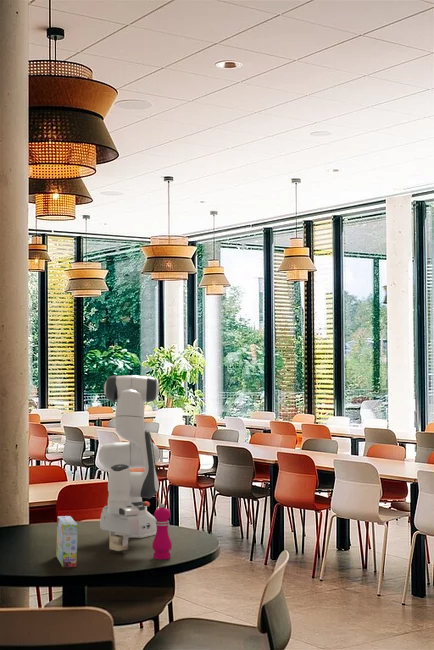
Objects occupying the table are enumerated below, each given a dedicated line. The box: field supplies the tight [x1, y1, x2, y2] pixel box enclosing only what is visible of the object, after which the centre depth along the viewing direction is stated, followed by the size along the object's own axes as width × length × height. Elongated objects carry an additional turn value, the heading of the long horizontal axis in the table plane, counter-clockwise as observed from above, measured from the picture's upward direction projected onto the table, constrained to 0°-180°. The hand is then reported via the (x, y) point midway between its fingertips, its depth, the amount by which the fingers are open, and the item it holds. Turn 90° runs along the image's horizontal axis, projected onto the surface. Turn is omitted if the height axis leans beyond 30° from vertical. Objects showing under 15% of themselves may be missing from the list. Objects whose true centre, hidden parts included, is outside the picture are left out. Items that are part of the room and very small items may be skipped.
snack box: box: [55, 515, 79, 568], centre depth 331 cm, size 21×6×15 cm, turn 17°
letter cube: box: [108, 534, 129, 552], centre depth 347 cm, size 5×5×5 cm
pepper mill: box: [151, 503, 173, 560], centre depth 338 cm, size 7×7×20 cm
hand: (118, 544), depth 347 cm, fingers closed on letter cube, 5 cm apart
